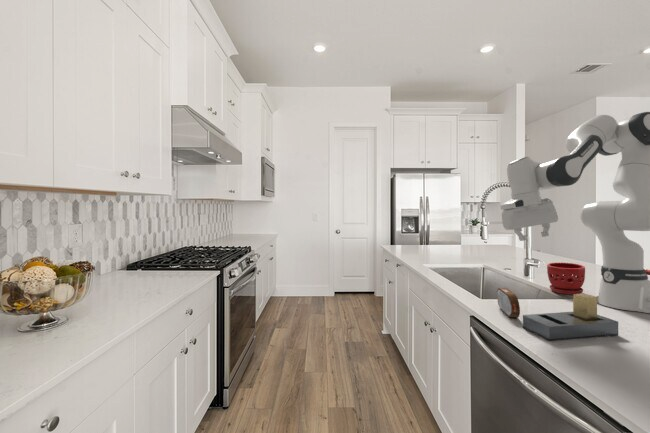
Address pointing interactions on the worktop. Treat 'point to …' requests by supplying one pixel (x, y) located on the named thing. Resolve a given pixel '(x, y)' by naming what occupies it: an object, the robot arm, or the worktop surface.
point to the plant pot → (566, 277)
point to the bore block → (568, 326)
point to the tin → (508, 302)
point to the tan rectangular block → (585, 307)
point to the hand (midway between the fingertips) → (534, 238)
